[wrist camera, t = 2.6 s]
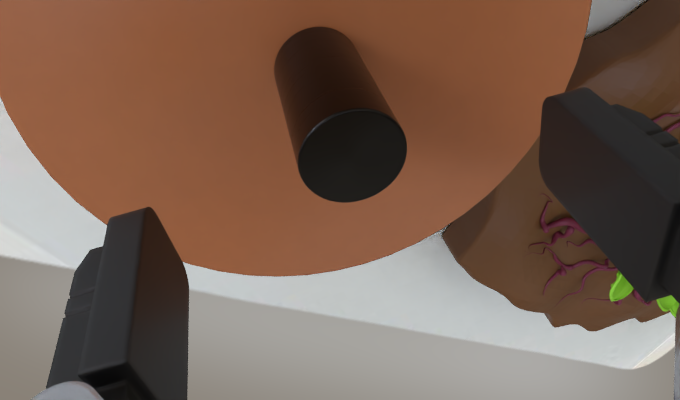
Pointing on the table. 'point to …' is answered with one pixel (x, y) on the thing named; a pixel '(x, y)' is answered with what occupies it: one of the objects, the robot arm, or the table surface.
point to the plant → (550, 215)
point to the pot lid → (285, 115)
